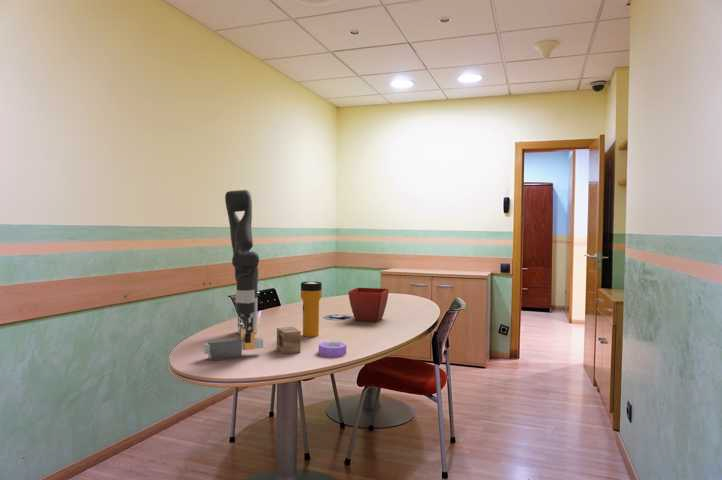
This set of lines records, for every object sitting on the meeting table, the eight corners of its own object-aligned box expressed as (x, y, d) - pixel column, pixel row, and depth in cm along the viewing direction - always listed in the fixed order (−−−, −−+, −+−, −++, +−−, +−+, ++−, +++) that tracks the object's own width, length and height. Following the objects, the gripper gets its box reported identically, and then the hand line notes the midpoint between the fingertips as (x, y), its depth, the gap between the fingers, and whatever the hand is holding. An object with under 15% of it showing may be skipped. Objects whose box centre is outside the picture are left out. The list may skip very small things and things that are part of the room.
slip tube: (202, 351, 197) (202, 330, 197) (259, 345, 208) (259, 325, 208) (205, 354, 192) (206, 333, 191) (264, 348, 202) (264, 328, 202)
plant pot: (347, 321, 276) (347, 291, 275) (357, 315, 294) (357, 287, 294) (380, 323, 270) (381, 293, 270) (388, 317, 289) (389, 288, 288)
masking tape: (346, 350, 214) (346, 341, 214) (346, 357, 202) (346, 347, 202) (319, 349, 214) (319, 341, 214) (317, 357, 202) (317, 347, 202)
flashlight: (324, 282, 236) (303, 283, 233) (323, 336, 237) (303, 338, 234) (318, 280, 246) (298, 281, 242) (317, 332, 246) (298, 333, 243)
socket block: (276, 348, 213) (276, 328, 213) (292, 347, 217) (292, 326, 216) (284, 354, 204) (284, 332, 204) (300, 352, 208) (300, 331, 207)
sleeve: (208, 357, 198) (208, 340, 197) (238, 354, 203) (238, 337, 203) (210, 361, 193) (211, 342, 193) (241, 357, 199) (241, 339, 198)
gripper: (231, 298, 206) (231, 337, 206) (240, 303, 193) (240, 345, 194) (249, 297, 209) (249, 336, 210) (259, 302, 197) (259, 343, 197)
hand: (245, 340), depth 202 cm, fingers open, 8 cm apart
